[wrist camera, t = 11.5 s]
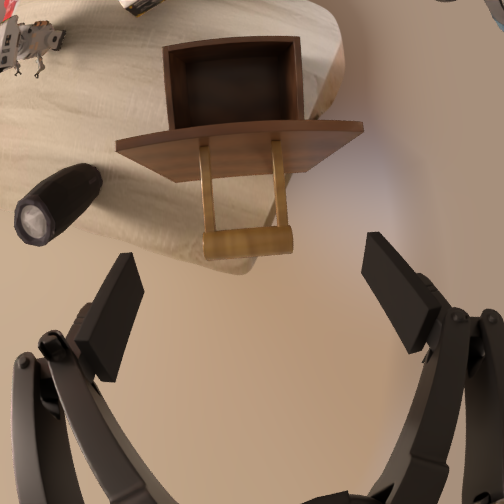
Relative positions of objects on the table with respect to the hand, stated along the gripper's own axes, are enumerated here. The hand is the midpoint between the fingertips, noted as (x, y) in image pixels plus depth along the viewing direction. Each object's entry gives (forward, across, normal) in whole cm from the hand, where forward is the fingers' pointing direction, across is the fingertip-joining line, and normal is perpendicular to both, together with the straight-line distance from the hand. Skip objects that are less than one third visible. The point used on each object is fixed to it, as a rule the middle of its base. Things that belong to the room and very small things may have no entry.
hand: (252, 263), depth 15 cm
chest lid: (+14, 0, +3) cm, 14 cm away
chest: (+37, 0, +8) cm, 38 cm away
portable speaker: (+37, -30, -2) cm, 48 cm away
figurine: (+37, -36, +28) cm, 59 cm away
